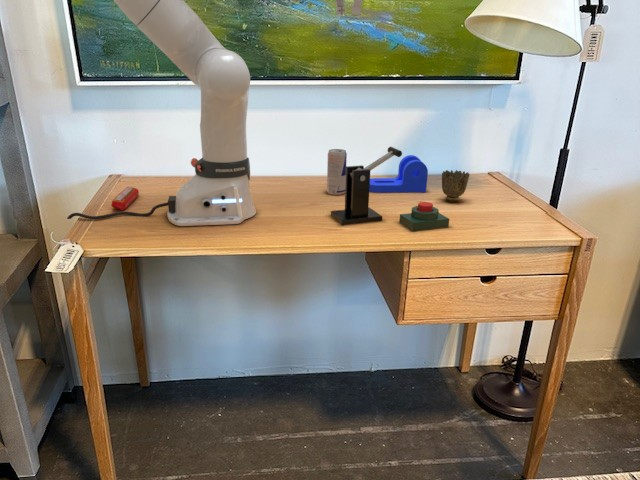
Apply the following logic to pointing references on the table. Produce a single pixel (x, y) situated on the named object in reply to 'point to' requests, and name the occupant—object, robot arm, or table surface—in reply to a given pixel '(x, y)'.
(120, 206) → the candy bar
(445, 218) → the button block
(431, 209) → the button
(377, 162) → the lever
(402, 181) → the bracket
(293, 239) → the table surface
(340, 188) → the energy drink
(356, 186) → the bracket
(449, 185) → the cup
